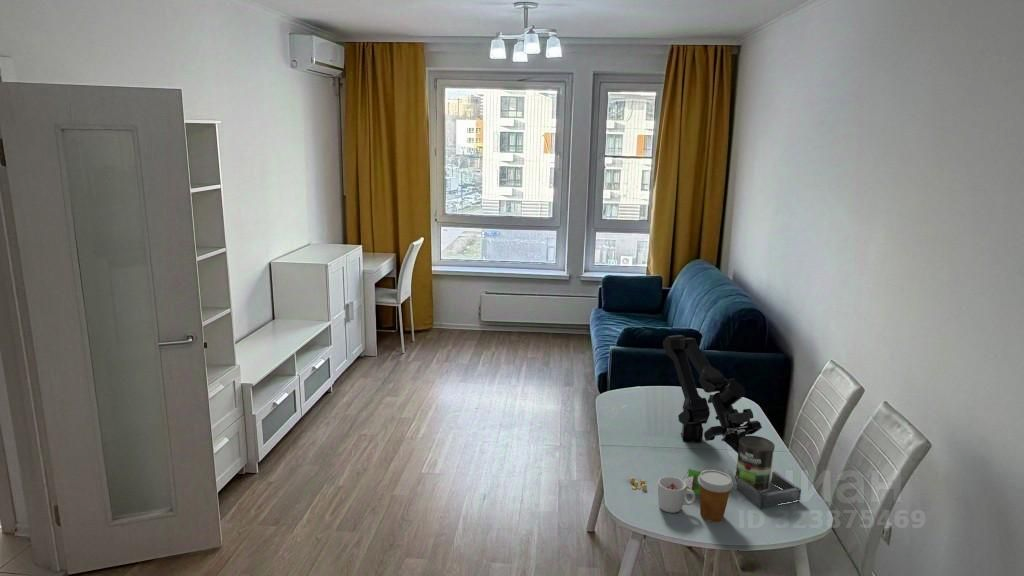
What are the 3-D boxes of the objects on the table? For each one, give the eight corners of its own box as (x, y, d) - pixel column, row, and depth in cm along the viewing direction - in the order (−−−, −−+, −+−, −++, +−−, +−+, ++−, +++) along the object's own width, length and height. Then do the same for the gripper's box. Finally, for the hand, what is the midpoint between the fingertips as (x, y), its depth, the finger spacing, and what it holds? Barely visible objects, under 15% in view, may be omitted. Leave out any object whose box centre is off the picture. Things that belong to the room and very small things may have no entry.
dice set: (630, 482, 208) (630, 477, 207) (646, 484, 207) (647, 479, 206) (629, 490, 203) (629, 485, 202) (646, 493, 202) (646, 487, 201)
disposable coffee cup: (735, 523, 186) (740, 484, 183) (704, 526, 184) (708, 487, 181) (718, 505, 195) (722, 467, 192) (688, 508, 193) (692, 470, 190)
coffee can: (761, 496, 200) (766, 453, 197) (728, 484, 207) (733, 442, 204) (775, 484, 208) (780, 442, 204) (743, 472, 214) (747, 432, 211)
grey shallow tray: (736, 489, 204) (737, 477, 203) (773, 483, 208) (775, 471, 207) (760, 509, 193) (762, 496, 193) (799, 501, 198) (801, 489, 197)
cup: (695, 505, 194) (697, 481, 192) (693, 520, 187) (695, 494, 185) (657, 498, 198) (659, 474, 196) (654, 512, 190) (656, 487, 189)
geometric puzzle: (686, 474, 208) (684, 462, 202) (708, 479, 205) (707, 467, 199) (681, 495, 204) (679, 483, 198) (704, 501, 201) (703, 489, 195)
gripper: (712, 403, 209) (731, 451, 201) (761, 397, 215) (781, 443, 207) (695, 417, 218) (713, 463, 210) (743, 410, 224) (762, 455, 216)
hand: (743, 456), depth 211 cm, fingers closed
